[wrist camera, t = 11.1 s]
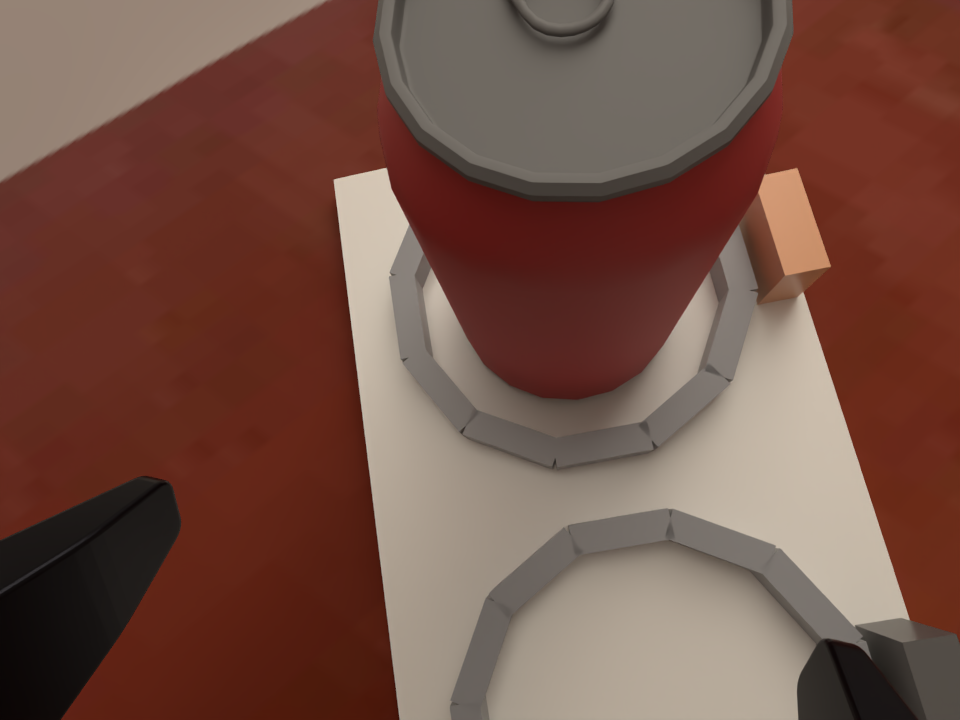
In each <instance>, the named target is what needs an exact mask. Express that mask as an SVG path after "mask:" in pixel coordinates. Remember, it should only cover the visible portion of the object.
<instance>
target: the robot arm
mask: <svg viewBox="0 0 960 720" xmlns="http://www.w3.org/2000/svg"><path fill="white" fill-rule="evenodd" d="M180 527H181V517H180V513H179V509H178V506H177V502H176V498H175V494H174V490H173V487H172V485H171V484H170V483H169V482H168V481H166V480H162V479H158V478H154V477H149V476H141V477H137V478H135V479H133V480H130V481H128V482H126V483H124V484H122V485H120V486H117V487H115V488H113V489H111V490H109V491H106V492H104V493H102V494H100V495H98V496H96V497H93V498H91V499H89V500H87V501H85V502H83V503H80V504H78V505H76V506H74V507H72V508H69V509H67V510H65V511H63V512H61V513H59V514H56V515H54V516H52V517H50V518H48V519H46V520H43V521H41V522H39V523H37V524H35V525H33V526H30V527H28V528H26V529H24V530H22V531H19V532H17V533H15V534H13V535H11V536H9V537H6V538H4V539H2V540H0V720H61V718H62V717H63V716H64V714H65V713H66V711H67V710H68V709H69V707H70V706H71V704H72V703H73V701H74V700H75V699H76V697H77V696H78V694H79V693H80V692H81V690H82V689H83V687H84V686H85V684H86V683H87V682H88V680H89V679H90V677H91V676H92V675H93V673H94V672H95V670H96V669H97V668H98V666H99V665H100V663H101V662H102V660H103V659H104V658H105V656H106V655H107V653H108V652H109V651H110V649H111V648H112V646H113V645H114V643H115V642H116V640H117V639H118V637H119V636H120V634H121V633H122V631H123V630H124V628H125V627H126V625H127V623H128V622H129V620H130V618H131V617H132V615H133V613H134V612H135V610H136V608H137V607H138V605H139V603H140V601H141V600H142V598H143V596H144V594H145V593H146V591H147V589H148V587H149V586H150V584H151V582H152V580H153V579H154V577H155V575H156V573H157V572H158V570H159V568H160V566H161V565H162V563H163V561H164V559H165V558H166V556H167V554H168V553H169V551H170V549H171V547H172V546H173V544H174V542H175V540H176V539H177V536H178V534H179V531H180ZM797 706H798V720H918V718H917V717H916V716H915V714H914V713H913V712H912V711H911V709H910V708H909V707H908V705H907V704H906V703H905V702H904V700H903V699H902V698H901V697H900V695H899V694H898V693H897V691H896V690H895V689H894V688H893V686H892V685H891V684H890V683H889V681H888V680H887V679H886V677H885V676H884V675H883V674H882V672H881V671H880V670H879V668H878V667H877V666H876V665H875V663H874V662H873V661H872V660H871V658H870V657H869V656H868V654H867V653H866V652H865V651H864V650H863V649H862V648H861V647H859V646H858V645H855V644H853V643H849V642H845V641H840V640H836V639H832V638H823V639H821V640H820V641H819V642H818V644H817V645H816V647H815V649H814V650H813V652H812V654H811V656H810V657H809V659H808V661H807V663H806V664H805V666H804V668H803V669H802V671H801V673H800V675H799V679H798V683H797Z"/></svg>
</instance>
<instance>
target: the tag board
mask: <svg viewBox="0 0 960 720" xmlns="http://www.w3.org/2000/svg"><path fill="white" fill-rule="evenodd" d="M334 186H335V194H336V202H337V210H338V219H339V227H340V235H341V243H342V251H343V260H344V268H345V276H346V284H347V292H348V301H349V309H350V317H351V325H352V333H353V342H354V350H355V358H356V366H357V374H358V383H359V391H360V399H361V407H362V415H363V423H364V432H365V440H366V448H367V456H368V464H369V473H370V481H371V489H372V497H373V505H374V514H375V522H376V530H377V538H378V546H379V555H380V563H381V571H382V579H383V587H384V596H385V604H386V612H387V620H388V628H389V637H390V645H391V653H392V661H393V669H394V677H395V686H396V694H397V702H398V710H399V718H400V720H798V706H797V683H798V679H799V675H800V673H801V671H802V669H803V668H804V666H805V664H806V663H807V661H808V659H809V657H810V656H811V654H812V652H813V650H814V649H815V647H816V645H817V644H818V642H819V641H820V640H821V639H823V638H832V639H836V640H840V641H845V642H849V643H853V644H855V645H858V646H859V647H861V648H862V649H863V650H864V651H865V652H866V653H867V654H868V656H869V657H870V658H871V660H872V661H873V662H874V663H875V665H876V666H877V667H878V668H879V670H880V671H881V672H882V674H883V675H884V676H885V677H886V679H887V680H888V681H889V683H890V684H891V685H892V686H893V688H894V689H895V690H896V691H897V693H898V694H899V695H900V697H901V698H902V699H903V700H904V702H905V703H906V704H907V705H908V707H909V708H910V709H911V711H912V712H913V713H914V714H915V716H916V717H917V718H918V720H960V644H959V641H958V638H957V635H956V634H954V633H951V632H947V631H944V630H940V629H937V628H934V627H930V626H927V625H923V624H920V623H917V622H913V621H910V619H909V616H908V613H907V610H906V607H905V604H904V601H903V598H902V595H901V592H900V589H899V586H898V583H897V579H896V576H895V573H894V570H893V567H892V564H891V561H890V558H889V555H888V552H887V549H886V546H885V543H884V539H883V536H882V533H881V530H880V527H879V524H878V521H877V518H876V515H875V512H874V509H873V506H872V502H871V499H870V496H869V493H868V490H867V487H866V484H865V481H864V478H863V475H862V472H861V469H860V466H859V462H858V459H857V456H856V453H855V450H854V447H853V444H852V441H851V438H850V435H849V432H848V429H847V426H846V422H845V419H844V416H843V413H842V410H841V407H840V404H839V401H838V398H837V395H836V392H835V389H834V386H833V382H832V379H831V376H830V373H829V370H828V367H827V364H826V361H825V358H824V355H823V352H822V349H821V346H820V342H819V339H818V336H817V333H816V330H815V327H814V324H813V321H812V318H811V315H810V312H809V309H808V305H807V302H806V299H805V296H804V293H803V292H804V291H805V290H806V289H807V288H808V287H809V286H810V285H811V284H812V283H813V282H815V281H816V280H817V279H818V278H819V277H820V276H821V275H822V274H823V273H824V272H825V271H827V270H828V269H829V268H830V267H831V266H830V263H829V260H828V257H827V254H826V251H825V248H824V245H823V242H822V239H821V236H820V233H819V230H818V228H817V225H816V222H815V219H814V216H813V213H812V210H811V207H810V204H809V201H808V198H807V195H806V192H805V189H804V187H803V184H802V181H801V178H800V175H799V172H798V169H797V168H796V169H792V170H787V171H782V172H777V173H773V174H768V175H764V177H763V180H762V183H761V186H760V189H759V192H758V194H757V196H756V197H755V199H754V200H753V202H752V204H751V205H750V207H749V208H748V210H747V212H746V213H745V215H744V217H743V218H742V220H741V221H740V223H739V225H738V226H737V228H736V229H735V231H734V233H733V234H732V236H731V237H730V239H729V241H728V242H727V244H726V245H725V247H724V249H723V250H722V252H721V253H720V255H719V257H718V258H717V260H716V262H715V263H714V265H713V266H712V268H711V270H710V271H709V273H708V274H707V276H706V278H705V279H704V281H703V282H702V284H701V286H700V287H699V289H698V290H697V292H696V294H695V295H694V297H693V298H692V300H691V302H690V303H689V305H688V306H687V308H686V310H685V311H684V313H683V315H682V316H681V318H680V319H679V321H678V323H677V324H676V326H675V327H674V329H673V331H672V332H671V334H670V335H669V337H668V339H667V340H666V342H665V343H664V345H663V346H662V348H661V349H660V350H659V351H658V353H657V354H656V355H655V356H654V358H653V359H652V360H651V361H650V362H649V364H648V365H647V366H646V367H645V369H644V370H643V371H642V372H641V373H640V374H638V375H636V376H635V377H633V378H632V379H630V380H629V381H627V382H625V383H624V384H622V385H621V386H619V387H617V388H616V389H614V390H613V391H610V392H606V393H602V394H598V395H594V396H591V397H587V398H583V399H579V400H572V399H554V398H541V397H539V396H536V395H534V394H531V393H528V392H526V391H523V390H520V389H518V388H515V387H513V386H510V385H509V384H508V383H506V382H505V381H504V380H503V379H501V378H500V377H499V376H498V375H496V374H495V373H494V372H493V371H491V370H490V369H489V368H488V367H486V366H485V365H484V364H483V362H482V361H481V359H480V357H479V356H478V354H477V353H476V351H475V350H474V348H473V347H472V345H471V343H470V342H469V340H468V339H467V337H466V335H465V333H464V331H463V329H462V327H461V325H460V323H459V321H458V319H457V317H456V315H455V313H454V311H453V309H452V307H451V306H450V304H449V302H448V300H447V298H446V296H445V294H444V292H443V290H442V288H441V286H440V284H439V282H438V280H437V278H436V276H435V274H434V272H433V270H432V268H431V266H430V264H429V262H428V260H427V258H426V256H425V254H424V252H423V250H422V248H421V246H420V244H419V242H418V240H417V238H416V236H415V234H414V232H413V230H412V228H411V227H410V225H409V223H408V221H407V219H406V217H405V215H404V213H403V211H402V209H401V207H400V205H399V203H398V201H397V199H396V197H395V195H394V193H393V191H392V189H391V185H390V180H389V176H388V171H387V168H384V169H380V170H375V171H371V172H366V173H361V174H357V175H352V176H348V177H343V178H339V179H334Z"/></svg>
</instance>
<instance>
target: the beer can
mask: <svg viewBox="0 0 960 720" xmlns="http://www.w3.org/2000/svg"><path fill="white" fill-rule="evenodd" d="M792 35H793V11H792V0H379V1H378V9H377V16H376V23H375V30H374V37H373V43H374V47H375V52H376V56H377V60H378V65H379V69H380V73H381V84H380V92H379V99H378V107H377V115H378V124H379V134H380V140H381V145H382V149H383V154H384V158H385V162H386V167H387V171H388V176H389V180H390V185H391V189H392V191H393V193H394V195H395V197H396V199H397V201H398V203H399V205H400V207H401V209H402V211H403V213H404V215H405V217H406V219H407V221H408V223H409V225H410V227H411V228H412V230H413V232H414V234H415V236H416V238H417V240H418V242H419V244H420V246H421V248H422V250H423V252H424V254H425V256H426V258H427V260H428V262H429V264H430V266H431V268H432V270H433V272H434V274H435V276H436V278H437V280H438V282H439V284H440V286H441V288H442V290H443V292H444V294H445V296H446V298H447V300H448V302H449V304H450V306H451V307H452V309H453V311H454V313H455V315H456V317H457V319H458V321H459V323H460V325H461V327H462V329H463V331H464V333H465V335H466V337H467V339H468V340H469V342H470V343H471V345H472V347H473V348H474V350H475V351H476V353H477V354H478V356H479V357H480V359H481V361H482V362H483V364H484V365H485V366H486V367H488V368H489V369H490V370H491V371H493V372H494V373H495V374H496V375H498V376H499V377H500V378H501V379H503V380H504V381H505V382H506V383H508V384H509V385H510V386H513V387H515V388H518V389H520V390H523V391H526V392H528V393H531V394H534V395H536V396H539V397H541V398H554V399H572V400H579V399H583V398H587V397H591V396H594V395H598V394H602V393H606V392H610V391H613V390H614V389H616V388H617V387H619V386H621V385H622V384H624V383H625V382H627V381H629V380H630V379H632V378H633V377H635V376H636V375H638V374H640V373H641V372H642V371H643V370H644V369H645V367H646V366H647V365H648V364H649V362H650V361H651V360H652V359H653V358H654V356H655V355H656V354H657V353H658V351H659V350H660V349H661V348H662V346H663V345H664V343H665V342H666V340H667V339H668V337H669V335H670V334H671V332H672V331H673V329H674V327H675V326H676V324H677V323H678V321H679V319H680V318H681V316H682V315H683V313H684V311H685V310H686V308H687V306H688V305H689V303H690V302H691V300H692V298H693V297H694V295H695V294H696V292H697V290H698V289H699V287H700V286H701V284H702V282H703V281H704V279H705V278H706V276H707V274H708V273H709V271H710V270H711V268H712V266H713V265H714V263H715V262H716V260H717V258H718V257H719V255H720V253H721V252H722V250H723V249H724V247H725V245H726V244H727V242H728V241H729V239H730V237H731V236H732V234H733V233H734V231H735V229H736V228H737V226H738V225H739V223H740V221H741V220H742V218H743V217H744V215H745V213H746V212H747V210H748V208H749V207H750V205H751V204H752V202H753V200H754V199H755V197H756V196H757V194H758V192H759V189H760V186H761V183H762V180H763V177H764V175H765V172H766V169H767V166H768V163H769V160H770V157H771V155H772V152H773V149H774V146H775V143H776V140H777V137H778V132H779V127H780V121H781V116H782V111H783V96H782V69H781V66H782V63H783V60H784V57H785V55H786V52H787V49H788V46H789V44H790V41H791V38H792Z"/></svg>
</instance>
